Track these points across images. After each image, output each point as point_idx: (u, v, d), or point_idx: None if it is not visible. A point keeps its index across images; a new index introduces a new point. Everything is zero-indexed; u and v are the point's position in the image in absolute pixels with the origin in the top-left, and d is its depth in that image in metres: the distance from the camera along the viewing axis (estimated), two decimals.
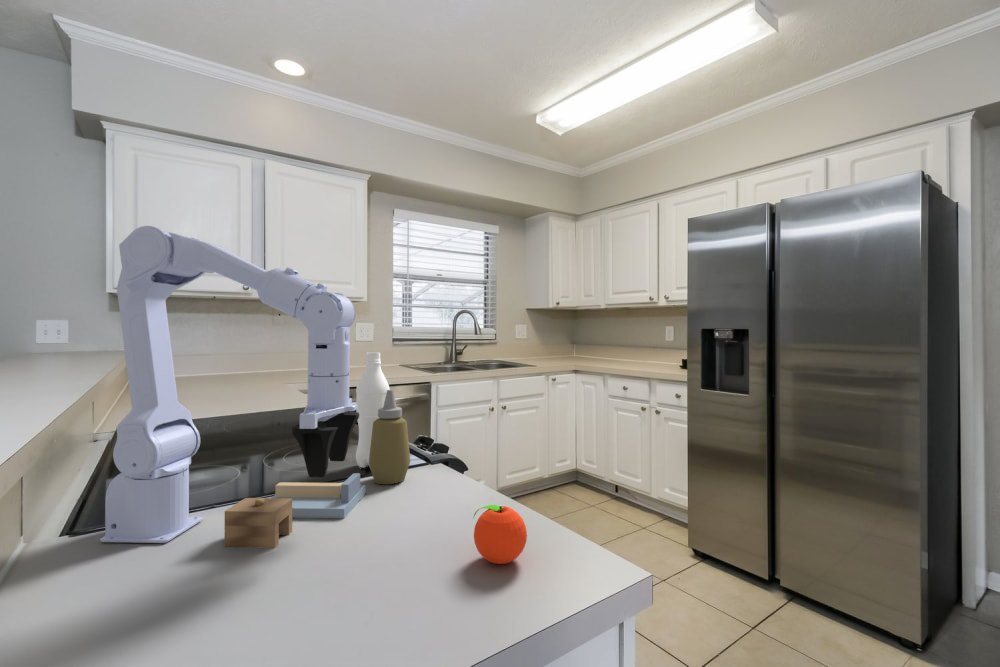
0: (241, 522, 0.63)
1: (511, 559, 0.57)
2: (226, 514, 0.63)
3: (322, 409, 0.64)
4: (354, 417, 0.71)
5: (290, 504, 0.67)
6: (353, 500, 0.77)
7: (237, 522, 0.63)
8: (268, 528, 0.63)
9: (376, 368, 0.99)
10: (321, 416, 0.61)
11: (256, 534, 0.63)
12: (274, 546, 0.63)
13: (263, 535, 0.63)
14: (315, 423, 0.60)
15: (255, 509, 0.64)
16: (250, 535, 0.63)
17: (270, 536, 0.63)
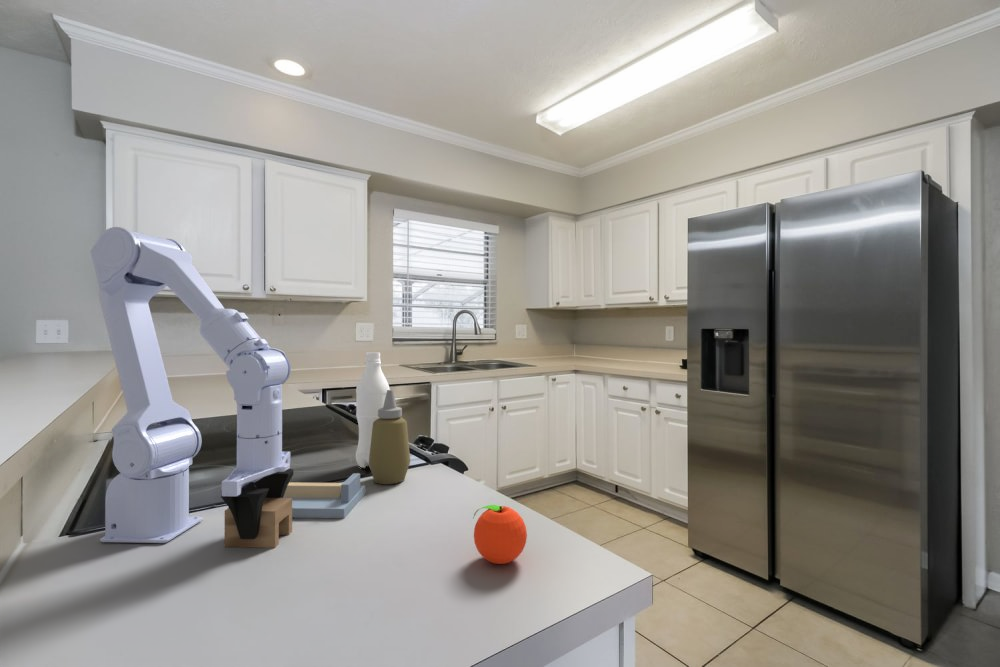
0: None
1: (511, 559, 0.57)
2: (226, 513, 0.63)
3: (250, 472, 0.62)
4: (286, 476, 0.68)
5: (290, 503, 0.67)
6: (353, 500, 0.77)
7: None
8: (268, 527, 0.63)
9: (376, 368, 0.99)
10: (246, 481, 0.60)
11: None
12: (274, 545, 0.63)
13: (264, 535, 0.63)
14: (238, 490, 0.58)
15: None
16: None
17: (270, 535, 0.63)
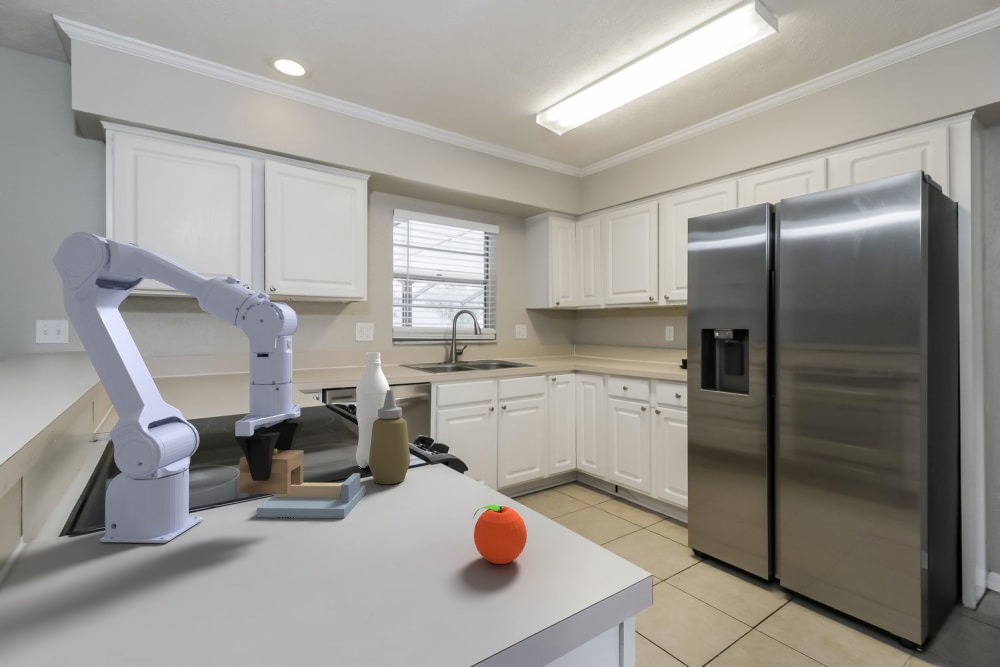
0: None
1: (511, 559, 0.57)
2: (241, 461, 0.66)
3: (262, 416, 0.65)
4: (297, 425, 0.71)
5: (302, 455, 0.70)
6: (353, 500, 0.77)
7: None
8: (281, 474, 0.66)
9: (376, 368, 0.99)
10: (258, 423, 0.63)
11: (269, 480, 0.66)
12: (286, 492, 0.66)
13: (276, 482, 0.66)
14: (250, 430, 0.61)
15: None
16: (264, 481, 0.66)
17: (282, 483, 0.66)
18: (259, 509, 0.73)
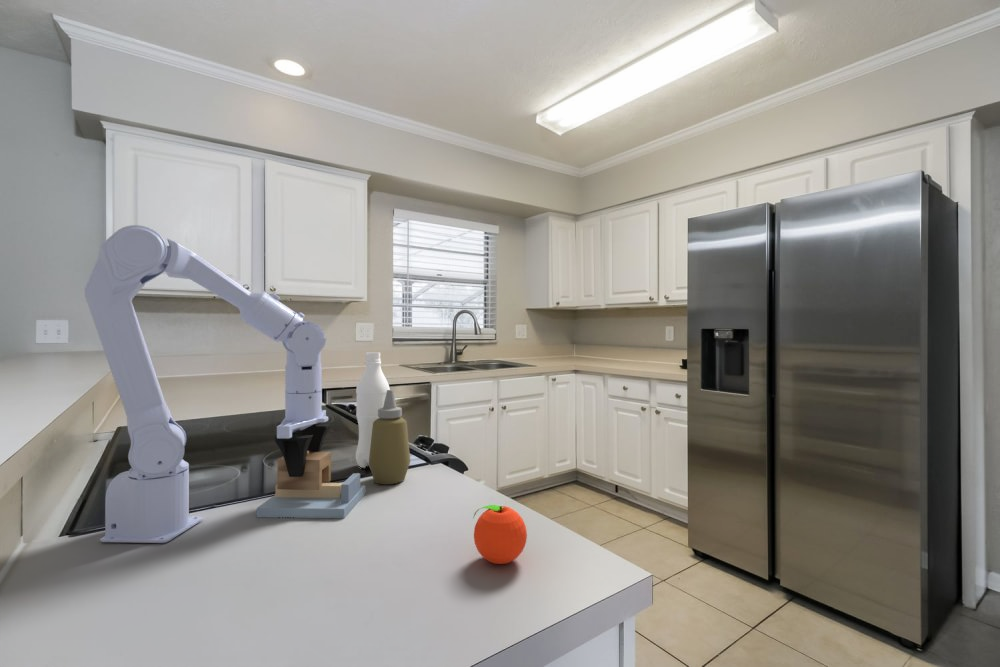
0: None
1: (511, 559, 0.57)
2: (279, 461, 0.76)
3: (297, 421, 0.75)
4: (324, 428, 0.81)
5: (329, 456, 0.80)
6: (353, 500, 0.77)
7: None
8: (313, 473, 0.76)
9: (376, 368, 0.99)
10: (295, 427, 0.73)
11: (303, 478, 0.76)
12: (318, 488, 0.76)
13: (310, 479, 0.76)
14: (290, 433, 0.71)
15: None
16: (299, 479, 0.76)
17: (315, 480, 0.76)
18: (259, 509, 0.73)
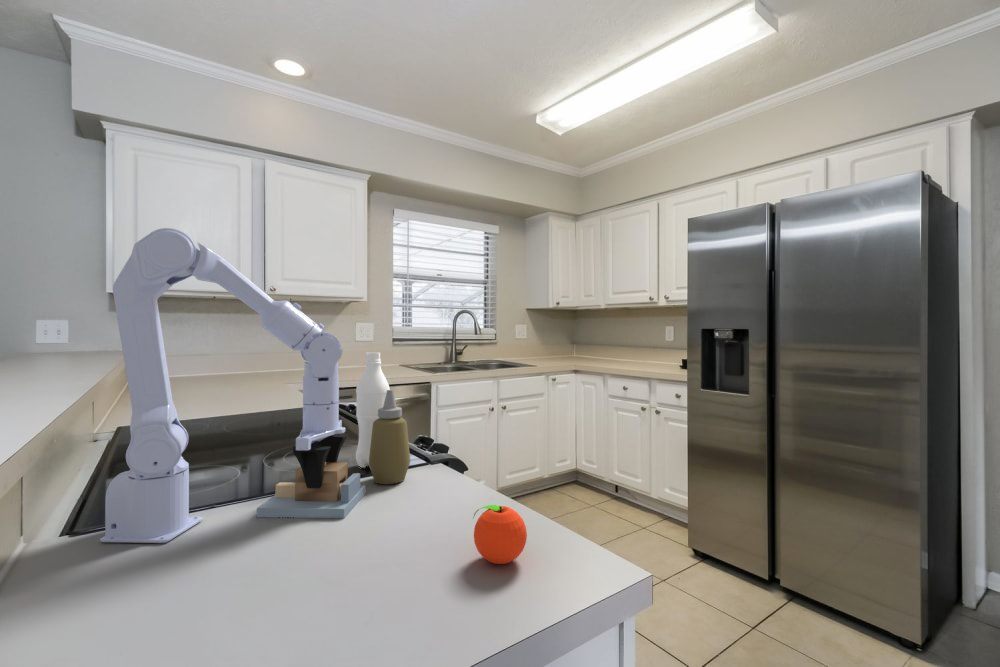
0: None
1: (511, 559, 0.57)
2: (296, 473, 0.76)
3: (315, 432, 0.75)
4: (341, 439, 0.81)
5: (346, 467, 0.80)
6: (353, 500, 0.77)
7: None
8: (331, 484, 0.76)
9: (376, 368, 0.99)
10: (314, 439, 0.73)
11: (321, 490, 0.76)
12: (336, 500, 0.76)
13: (327, 491, 0.76)
14: (309, 445, 0.71)
15: None
16: (316, 490, 0.76)
17: (333, 491, 0.76)
18: (259, 509, 0.73)
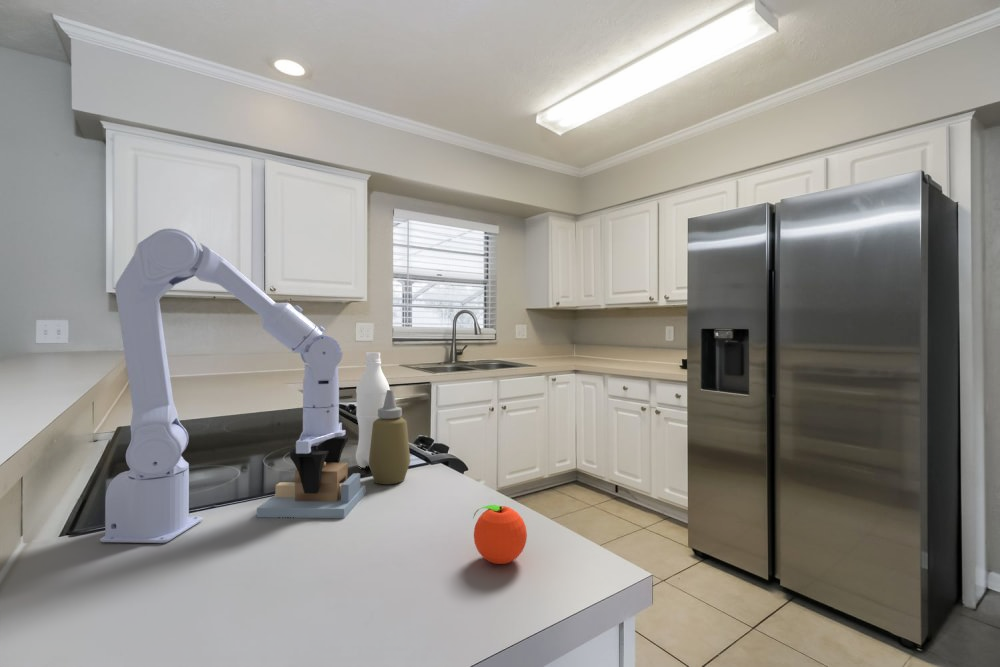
0: None
1: (511, 559, 0.57)
2: (296, 473, 0.76)
3: (315, 435, 0.75)
4: (343, 440, 0.82)
5: (346, 467, 0.80)
6: (353, 500, 0.77)
7: None
8: (331, 484, 0.76)
9: (376, 368, 0.99)
10: (314, 442, 0.73)
11: (321, 490, 0.76)
12: (336, 500, 0.76)
13: (327, 491, 0.76)
14: (309, 449, 0.71)
15: None
16: None
17: (333, 491, 0.76)
18: (259, 509, 0.73)
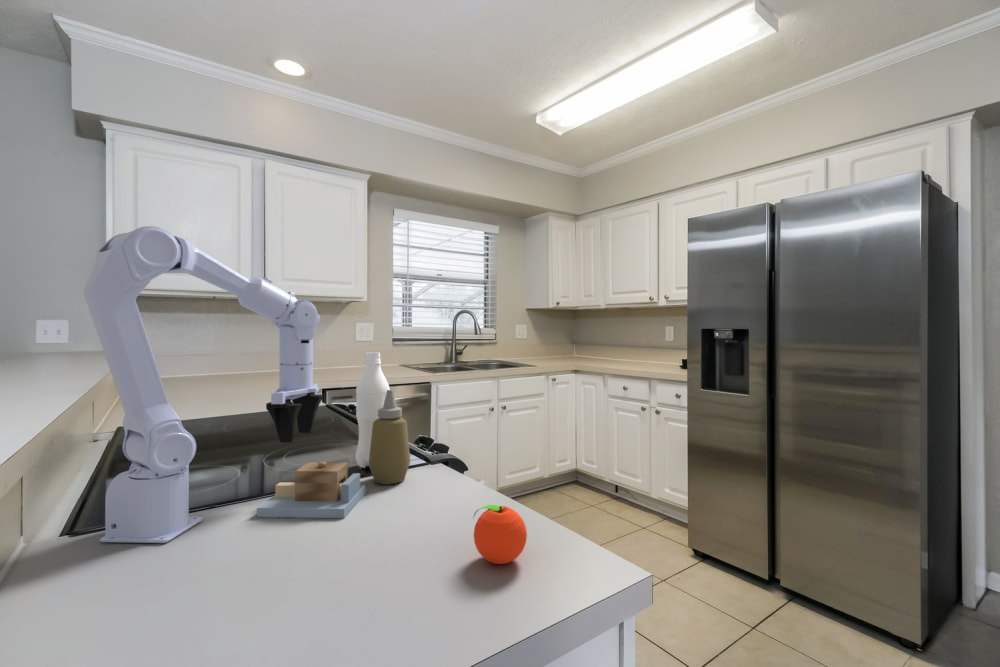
0: (309, 480, 0.76)
1: (511, 559, 0.57)
2: (296, 473, 0.76)
3: (290, 390, 0.82)
4: (318, 398, 0.89)
5: (346, 467, 0.80)
6: (353, 500, 0.77)
7: (305, 480, 0.76)
8: (331, 484, 0.76)
9: (376, 368, 0.99)
10: (288, 395, 0.80)
11: (321, 490, 0.76)
12: (336, 500, 0.76)
13: (327, 491, 0.76)
14: (283, 400, 0.78)
15: (320, 470, 0.77)
16: (316, 490, 0.76)
17: (333, 491, 0.76)
18: (259, 509, 0.73)
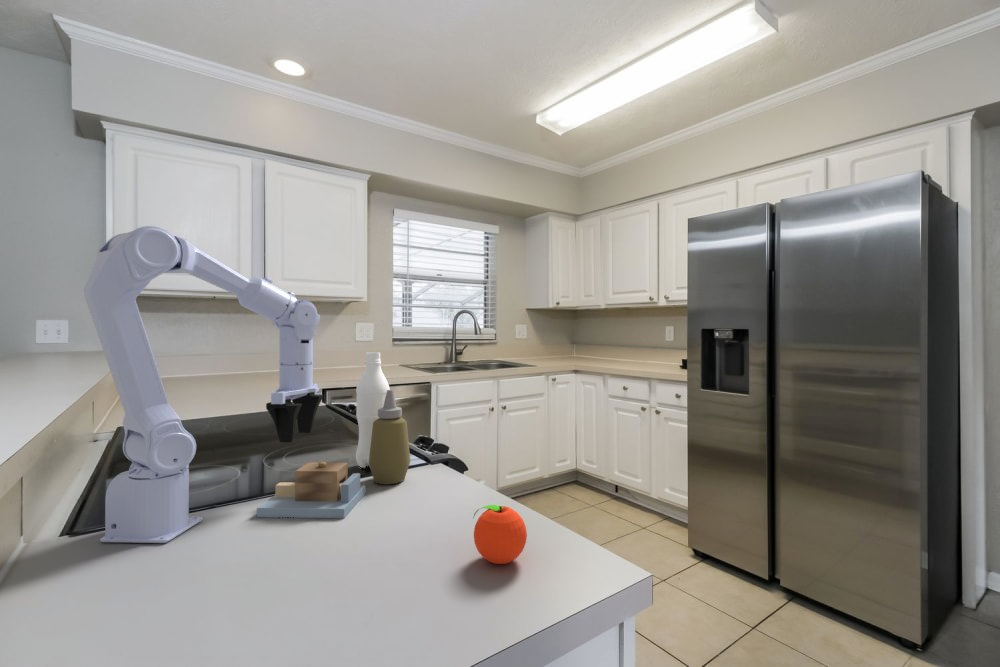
0: (309, 480, 0.76)
1: (511, 559, 0.57)
2: (296, 473, 0.76)
3: (290, 390, 0.82)
4: (318, 398, 0.89)
5: (346, 467, 0.80)
6: (353, 500, 0.77)
7: (305, 480, 0.76)
8: (331, 484, 0.76)
9: (376, 368, 0.99)
10: (288, 395, 0.80)
11: (321, 490, 0.76)
12: (336, 500, 0.76)
13: (327, 491, 0.76)
14: (283, 400, 0.78)
15: (320, 470, 0.77)
16: (316, 490, 0.76)
17: (333, 491, 0.76)
18: (259, 509, 0.73)
